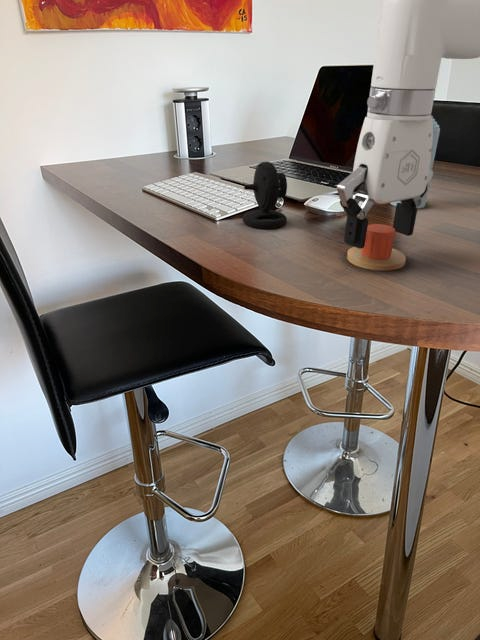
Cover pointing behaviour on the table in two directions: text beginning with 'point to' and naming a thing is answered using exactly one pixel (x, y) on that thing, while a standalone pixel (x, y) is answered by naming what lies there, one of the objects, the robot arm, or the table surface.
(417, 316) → the table surface
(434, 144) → the bottle
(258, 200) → the webcam
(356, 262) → the coaster
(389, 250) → the cap
